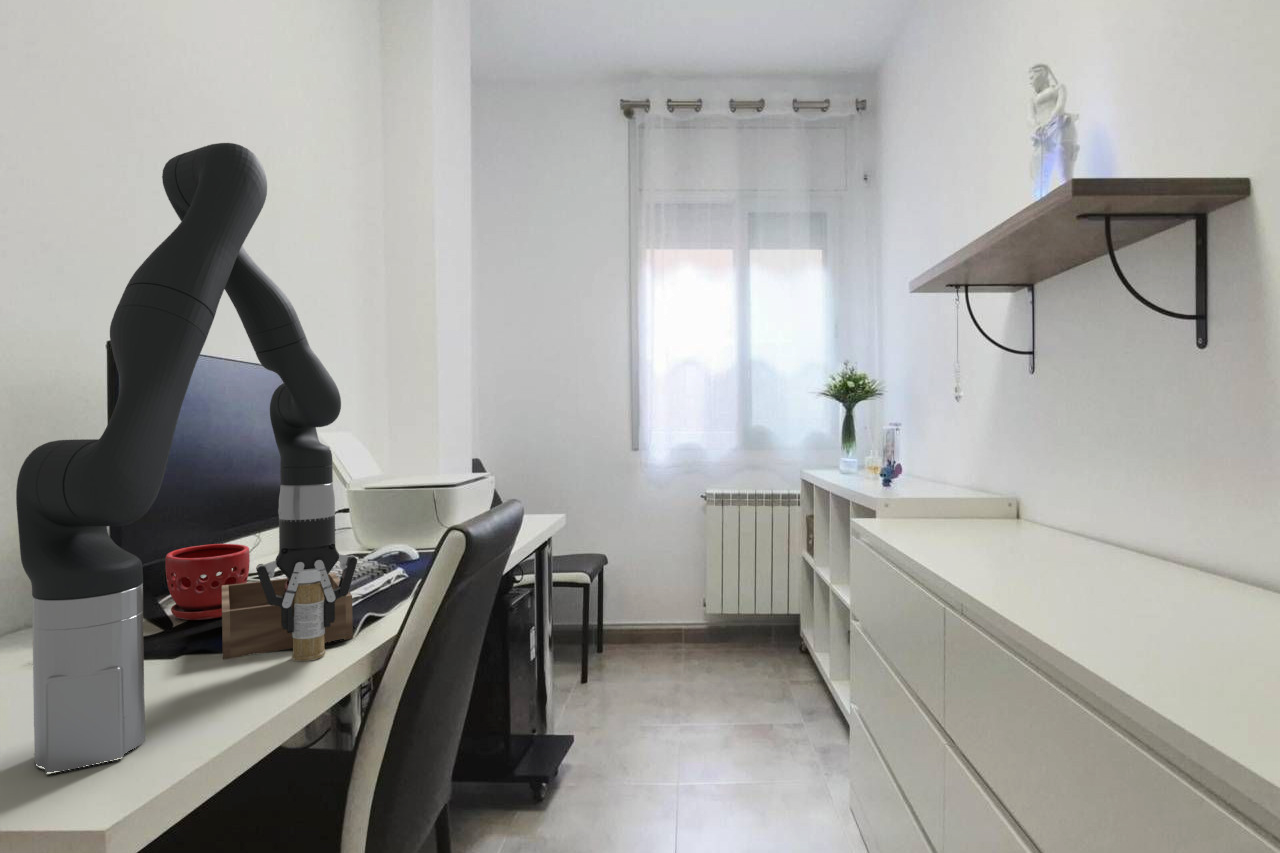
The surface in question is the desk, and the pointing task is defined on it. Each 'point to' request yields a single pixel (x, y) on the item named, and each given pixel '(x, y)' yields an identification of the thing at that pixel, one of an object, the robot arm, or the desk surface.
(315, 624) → the sprinkles bottle
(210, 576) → the plant pot
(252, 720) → the desk surface
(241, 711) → the desk surface
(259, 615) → the wooden box
